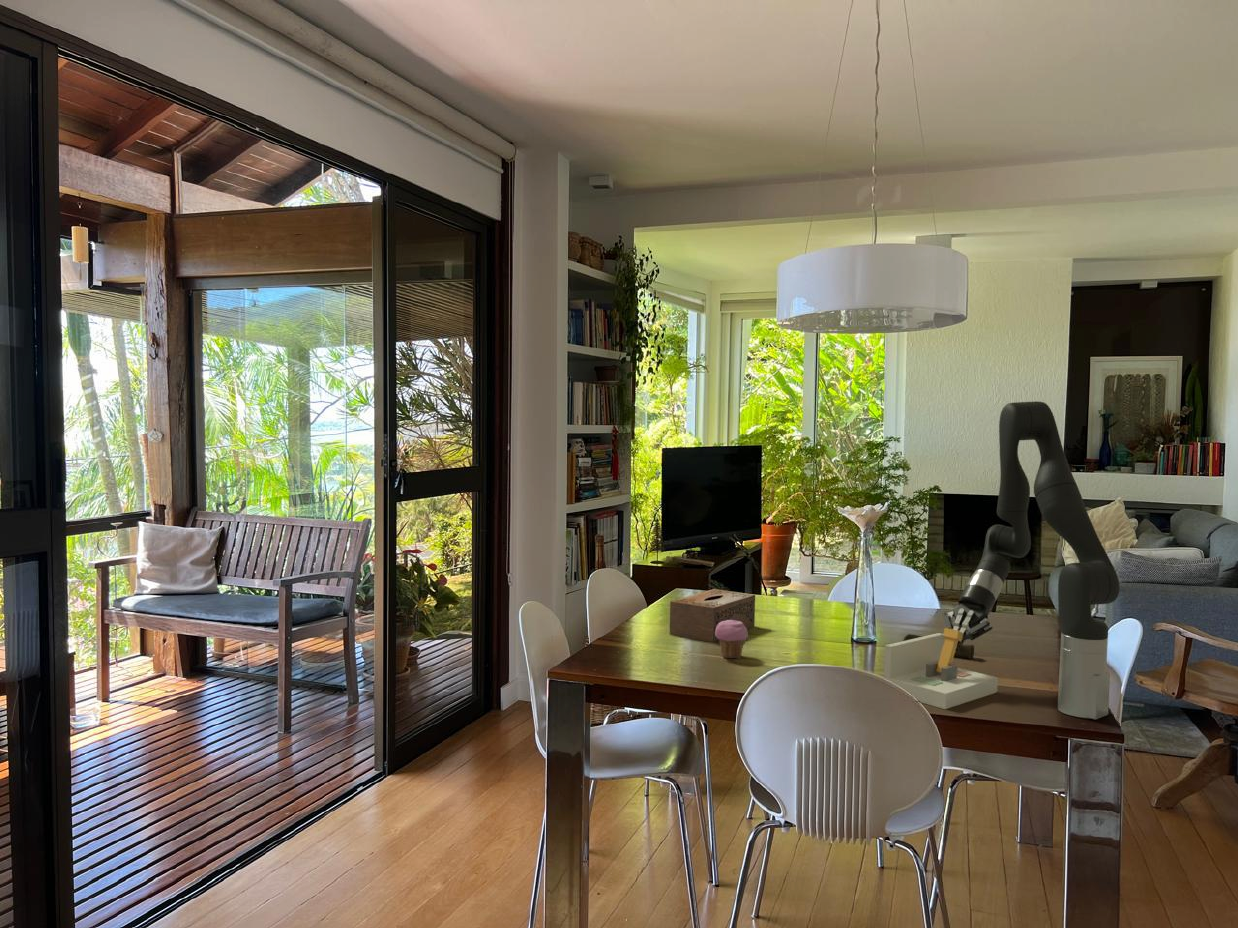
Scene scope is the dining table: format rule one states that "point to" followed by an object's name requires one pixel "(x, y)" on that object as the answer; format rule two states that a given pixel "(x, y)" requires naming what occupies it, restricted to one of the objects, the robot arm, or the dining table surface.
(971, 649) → the hand tool
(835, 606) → the dining table surface
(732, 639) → the cupcake
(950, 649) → the lever
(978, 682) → the white switch base
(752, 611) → the tissue box cover
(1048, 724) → the dining table surface
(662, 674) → the dining table surface
